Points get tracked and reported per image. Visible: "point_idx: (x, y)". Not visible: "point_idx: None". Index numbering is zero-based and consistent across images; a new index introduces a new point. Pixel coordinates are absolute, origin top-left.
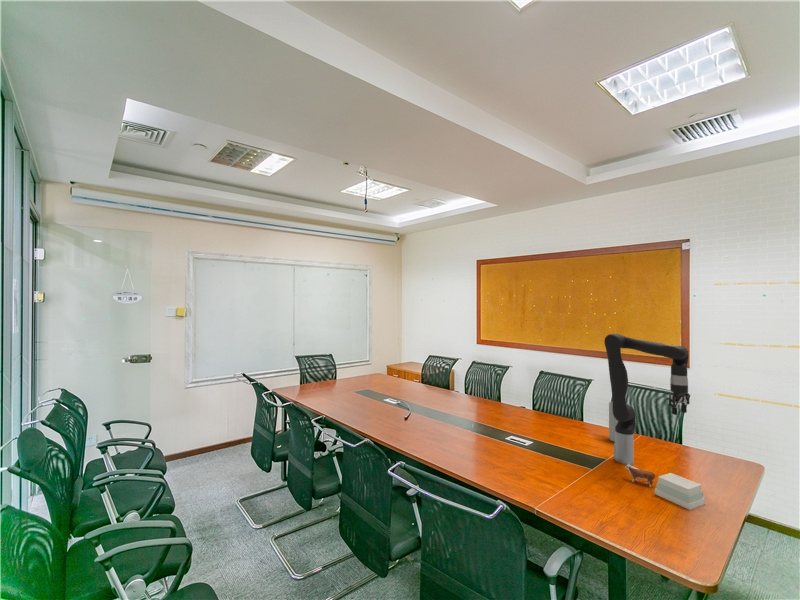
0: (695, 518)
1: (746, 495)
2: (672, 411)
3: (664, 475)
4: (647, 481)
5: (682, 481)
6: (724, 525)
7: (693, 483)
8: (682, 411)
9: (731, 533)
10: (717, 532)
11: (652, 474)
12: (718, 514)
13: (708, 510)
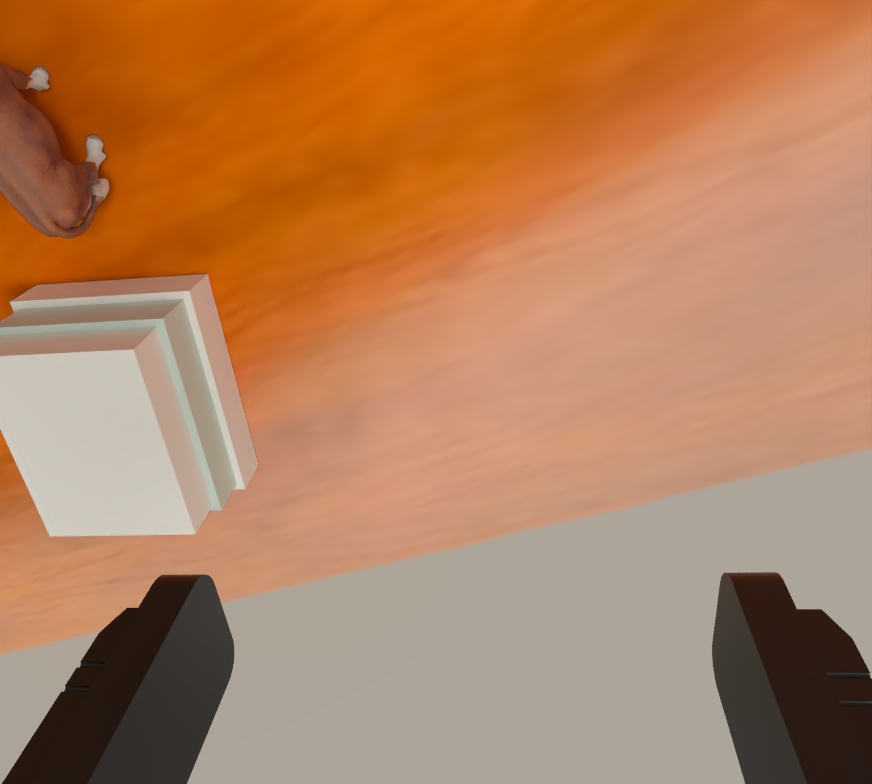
0: None
1: (641, 496)
2: (86, 672)
3: (38, 362)
4: (85, 161)
5: (102, 465)
6: None
7: (158, 507)
8: (729, 606)
9: None
10: (81, 596)
11: (47, 233)
12: (234, 534)
13: None
